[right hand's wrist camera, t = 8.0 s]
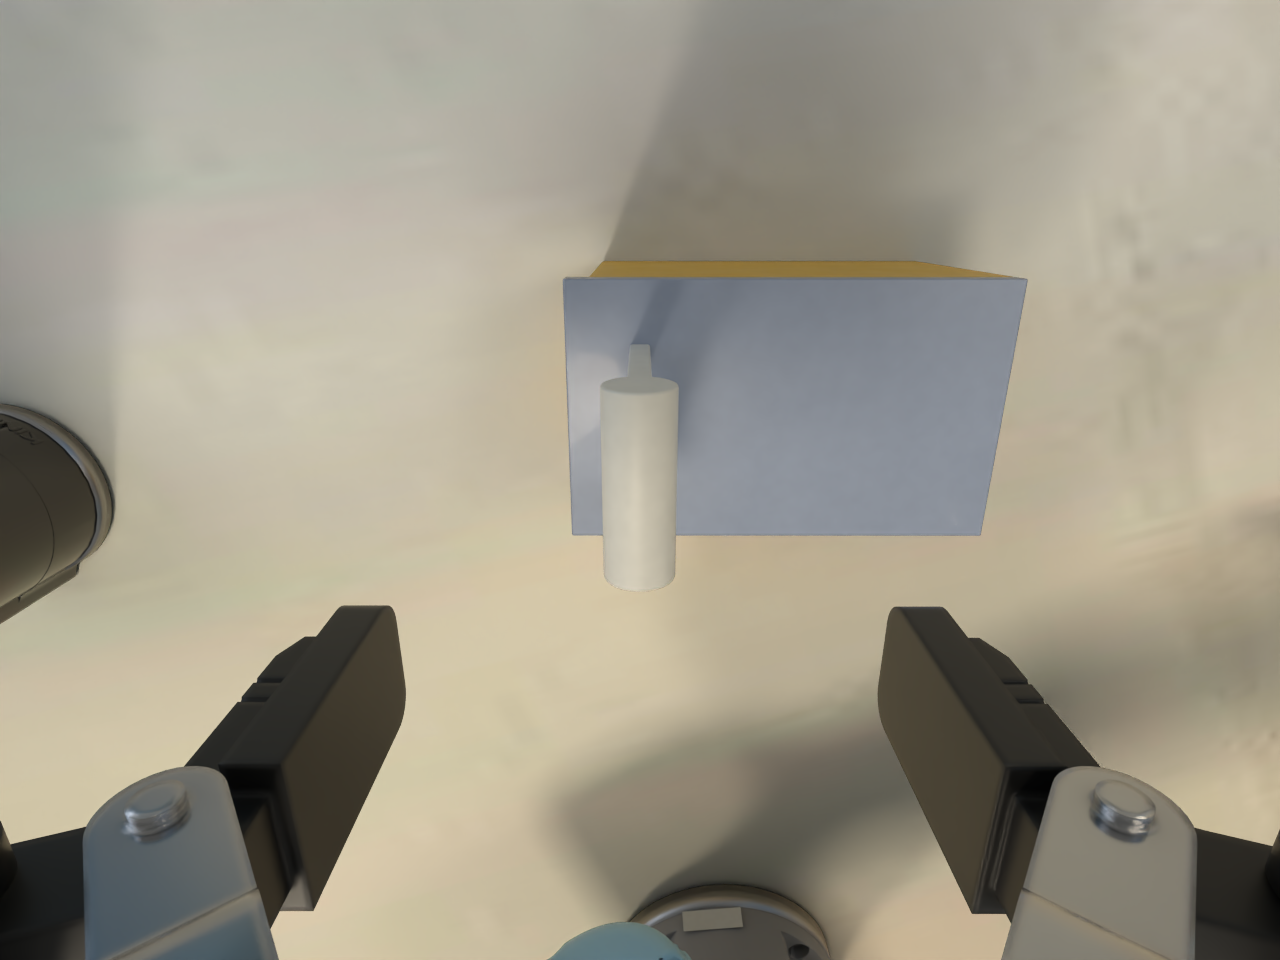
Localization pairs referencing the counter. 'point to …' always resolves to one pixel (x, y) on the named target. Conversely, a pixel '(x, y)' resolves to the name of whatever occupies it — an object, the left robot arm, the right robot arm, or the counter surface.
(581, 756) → the counter surface
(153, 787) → the right robot arm
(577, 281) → the lid
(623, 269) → the chest
